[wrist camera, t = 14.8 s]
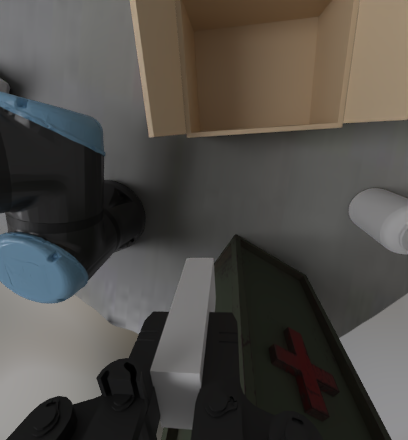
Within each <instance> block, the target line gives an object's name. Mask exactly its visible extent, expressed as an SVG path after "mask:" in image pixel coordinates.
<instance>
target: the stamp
mask: <svg viewBox="0 0 408 440" xmlns="http://www.w3.org/2000/svg"><path fill="white" fill-rule="evenodd" d="M0 91H1V92H5V93H8V94H9V91H10V87H9V84H8V83H7V82H5V81H4V80H2V79H1V78H0Z"/></svg>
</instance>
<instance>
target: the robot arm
mask: <svg viewBox="0 0 408 440" xmlns="http://www.w3.org/2000/svg"><path fill="white" fill-rule="evenodd" d="M104 156H105V152H104V145H103V130H102V127H101V125H100V123H99V122H98V121H97V120H96V119H94V118H93V117H90V116H87V115H84V114H81V113H77V112H74V111H70V110H67V109H63V108H60V107H56V106H52V105H49V104H45V103H41V102H38V101H34V100H30V99H26V98H23V97H19V96H15V95H12V94H8V93H5V92H1V91H0V213H5V214H6V220H7V226H8V232H7V233H4V234H1V235H0V281H1V283H3V284H4V285H5V286H6V287H7V288H9V289H10V290H12V291H13V292H14V293H16V294H18V295H19V296H21V297H24V298H26V299H29V300H32V301H35V302H40V303H58V302H62V301H65V300H66V299H68V298H70V297H72V296H73V295H74V294H75V293H76V292H77V291H78V290H80V289H81V288H83V287H84V286H85V285H86V284H87V283H88V282H87V281H88V280H89V279H90V278H91V277H92V276H93V275H94V274H95V272H96V271H97V270H98V269H99V268H100V267H101V266H102V265H103V264H104V263H105V262H106V260H107V259H108V258H109V257H110V256H111V255H112V254H113V253H114V252H117V251H119V250H122V249H125V248H127V247H129V246H130V245H132V244H133V243H134V242H135V241H136V240H137V239H138V238H139V236H140V235H141V234H142V232H143V230H144V227H145V212H144V208H143V206H142V204H141V202H140V200H139V199H138V197H137V196H136V195H135V194H134V193H133V192H132V191H131V190H130V189H129V188H127V187H126V186H124V185H122V184H120V183H118V182H114V181H108V180H104ZM215 302H216V292H215V275H214V258H187V259H186V262H185V265H184V268H183V271H182V274H181V277H180V280H179V283H178V286H177V289H176V293H175V296H174V299H173V302H172V305H171V308H170V311H169V312H153V313H152V314H151V315H150V316H149V317H148V318H147V319H146V320H145V322H144V324H143V326H142V329H141V332H140V333H139V336H138V338H137V341H136V342H135V345H134V347H133V349H132V352H131V354H130V356H129V358H125V359H118V360H117V361H114V362H112V363H110V364H109V365H107V366H106V367H105V368H104V369H103V370H102V371H101V372H100V374H99V375H98V376H97V381H98V384H99V387H100V390H101V393H102V395H101V396H99V397H96V398H94V399H91V400H87V401H84V402H80V403H77V404H73V405H72V402H71V401H70V400H69V399H68V398H67V397H62V396H57V397H54V398H51V399H48V400H47V401H45V402H43V403H42V404H40V405H39V406H38V407H36V408H35V409H34V410H33V411H32V412H31V413H30V414H29V415H28V416H27V417H26V419H24V421H23V422H22V423H21V424H20V425H19V426H18V427H17V428H16V429H15V431H14V432H13V433H12V434H11V435H10V436H9V437H8V438H7V439H6V440H157V437H156V433H157V428H158V424H159V420H160V421H161V426H162V427H166V428H178V429H191V430H192V434H191V440H323V438H322V436H321V434H320V433H319V431H318V430H317V428H316V427H315V425H314V424H313V423H312V422H311V421H310V420H309V419H307V418H306V417H305V416H304V415H302V414H299V413H297V412H295V411H283V412H281V413H279V414H276V415H273V414H271V413H269V412H266V411H264V410H262V409H260V408H258V407H256V406H255V405H253V404H252V403H251V402H250V401H249V400H248V399H247V397H246V396H245V395H244V393H243V390H242V388H241V384H240V370H239V347H238V323H237V320H236V318H235V317H234V315H233V313H232V312H215Z"/></svg>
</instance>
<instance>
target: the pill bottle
mask: <svg viewBox="0 0 408 440" xmlns="http://www.w3.org/2000/svg"><path fill="white" fill-rule="evenodd" d="M349 216H350V219H351V220H352V221H353V223H354V224H356V225H357V226H358V227H359V228H361V229H362V230H363V231H365V232H366V233H367V234H368V235H370V236H371V237H372V238H374V239H375V240H376V241H377V242H379V243H380V244H381V245H383V246H384V247H385V248H387V249H388V250H390V251H392V252H395V253H399V254H408V198H405V197H403V196H400V195H398V194H395V193H393V192H390V191H388V190H385V189H381V188H370V189H366V190H364V191H362V192H360V193H359V194H357V195H356V196H355V197H354V198H353V200H352V201H351V203H350V205H349Z"/></svg>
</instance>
